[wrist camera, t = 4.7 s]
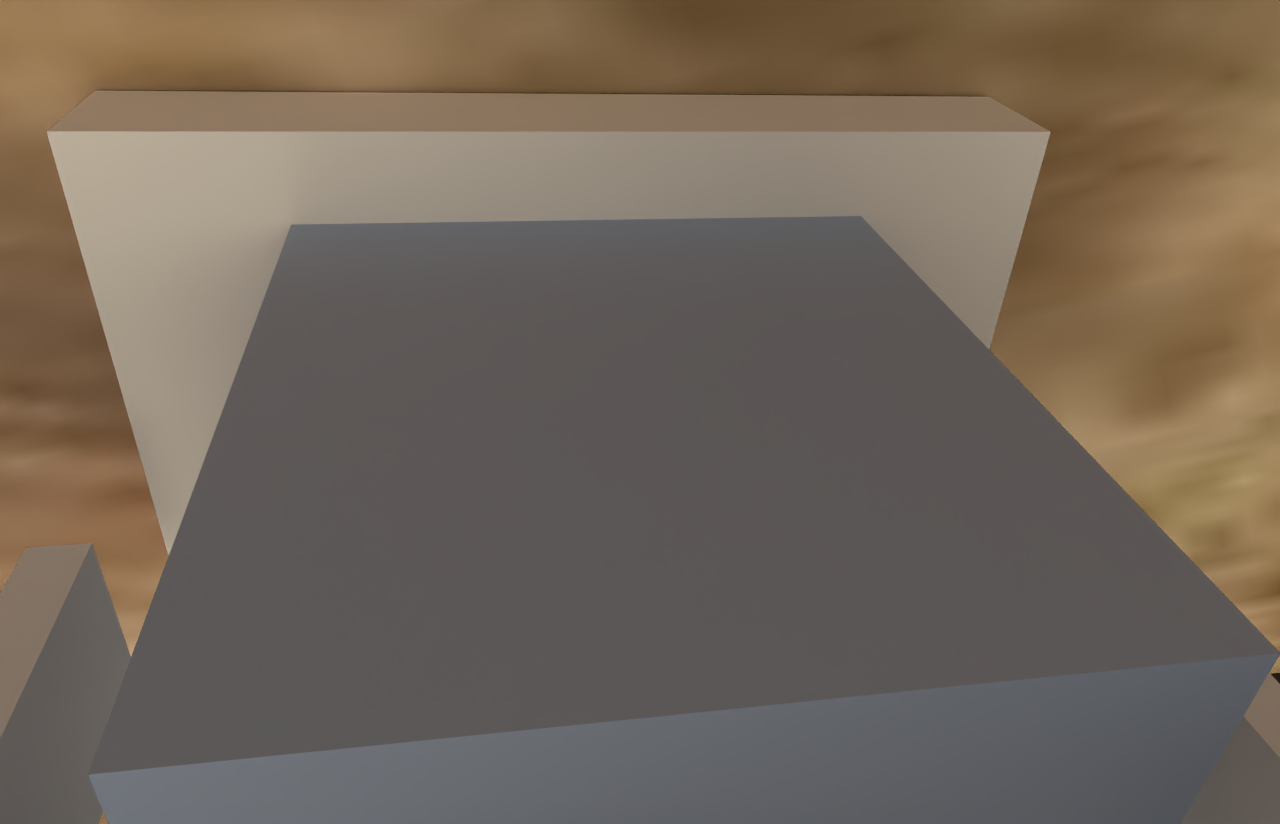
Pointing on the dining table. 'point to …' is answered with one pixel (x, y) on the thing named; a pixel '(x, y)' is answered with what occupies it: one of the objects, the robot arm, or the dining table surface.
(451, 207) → the pin board
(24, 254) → the dining table surface
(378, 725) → the cover
